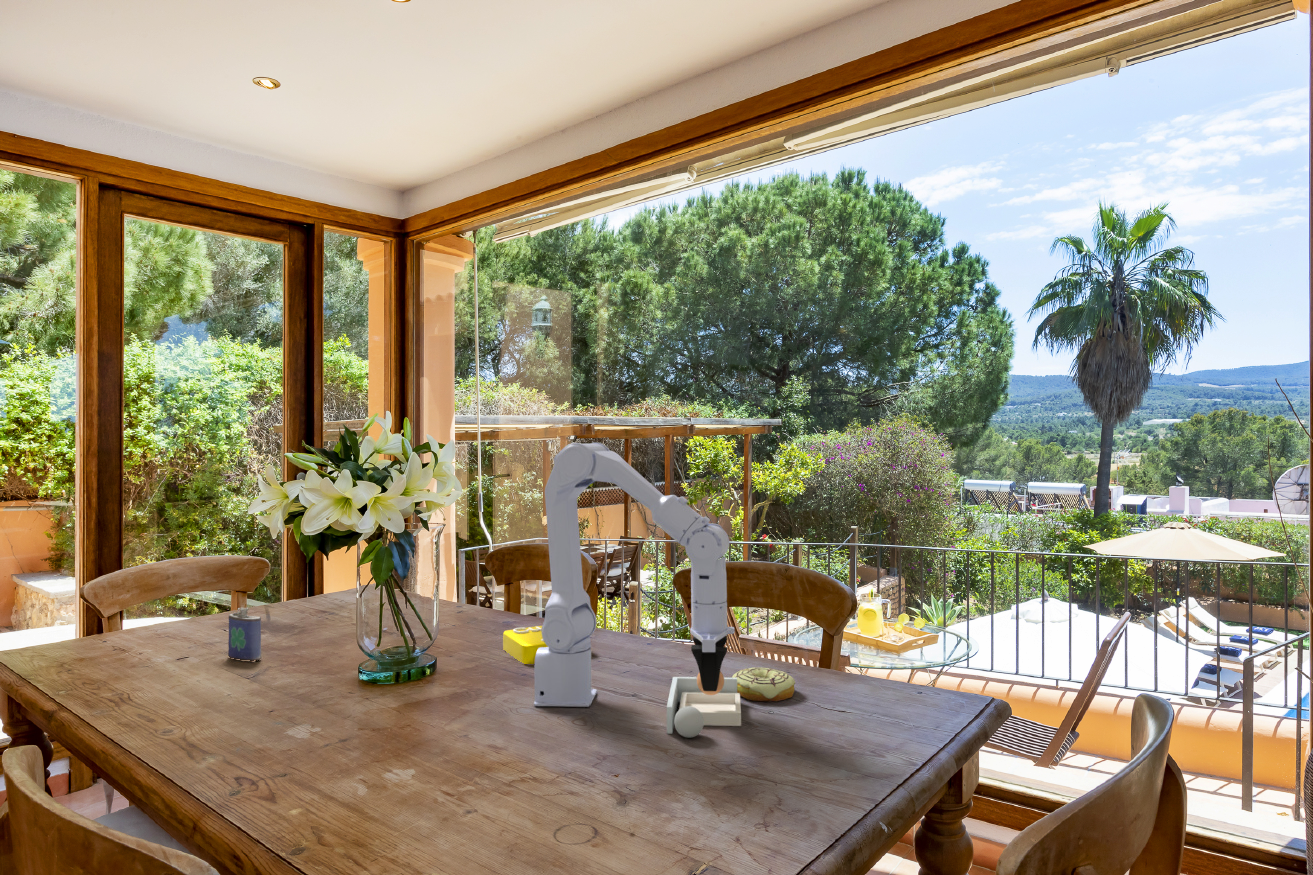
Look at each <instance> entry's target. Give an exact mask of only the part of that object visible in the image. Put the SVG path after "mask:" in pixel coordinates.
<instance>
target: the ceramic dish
mask: <svg viewBox="0 0 1313 875" xmlns="http://www.w3.org/2000/svg"><path fill="white" fill-rule="evenodd" d="M686 706H692V707H695V708H697V709H698V710H699V711H700V712H701V714H702V716H703V719H704V725H703V726H716V727H717V726H722V727H723V726H724V727H726V726H727V727H730V726H732V727H741V726H742V709H741V708H742V707H741V706H742V705H741V696H740V693H717V694H715V695H707V694H704V693H703V692H682V695H681V701H680V702H679V707H678V708H679V709H678V711H679V710H680V709H681V708H683V707H686Z"/></svg>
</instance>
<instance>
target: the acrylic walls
mask: <svg viewBox="0 0 1313 875" xmlns="http://www.w3.org/2000/svg"><path fill="white" fill-rule="evenodd" d="M671 680H672V682H671V684H670V689H669V694H668V699H667V703H666V734H667V735H669V734H670V735H671V734H673V731H674V727H675V725H674V719H675V715H676V713H677V709H678V708H677V707H678V703H680V701H681V695H682V692H702V691H701V690H700V689H699V687H698V685H697V676H672V679H671ZM719 693H737V678H732V677H724V686H723V688H722V690H721V691H720V692H719Z"/></svg>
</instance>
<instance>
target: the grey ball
mask: <svg viewBox="0 0 1313 875" xmlns="http://www.w3.org/2000/svg"><path fill="white" fill-rule="evenodd" d="M704 726H705V725H704V719H703V716H702V714H701V712H700V711H699V710H698V709H697V708H695V707H692V706H686V707H683V708H681V709H680V710H679V709H678V711H676V715H675V719H674V728H675V730H676V732H677V733H678V734H679V735H680V736H682V737H684V738H689V739H691V738H695V737H696V736H698V735H699V734H700V733H701V732H702V730H703V728H704Z"/></svg>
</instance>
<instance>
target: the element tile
mask: <svg viewBox="0 0 1313 875" xmlns="http://www.w3.org/2000/svg"><path fill="white" fill-rule="evenodd" d="M502 647H503V648H502V650H505V651H506V652H507V653H509V654H510V655H511V656H513V657H514V658H515V659H517V660H518V661H520V662H522V663H524V664H534V663H535V656H536V652H537V650H538V648H541V647H548V646H547V645H546V644H545V642H544V640H543V637H542V625H535V626H528V627H515V628H513V629H507V630H506V629H505V630H504V631H503V634H502ZM507 653H506V654H507ZM510 655H509V656H510ZM511 656H510V657H511ZM514 658H513V659H514ZM515 659H514V660H515ZM517 660H516V661H517ZM518 661H517V662H518ZM520 662H519V663H520ZM524 664H523V665H524Z"/></svg>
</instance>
